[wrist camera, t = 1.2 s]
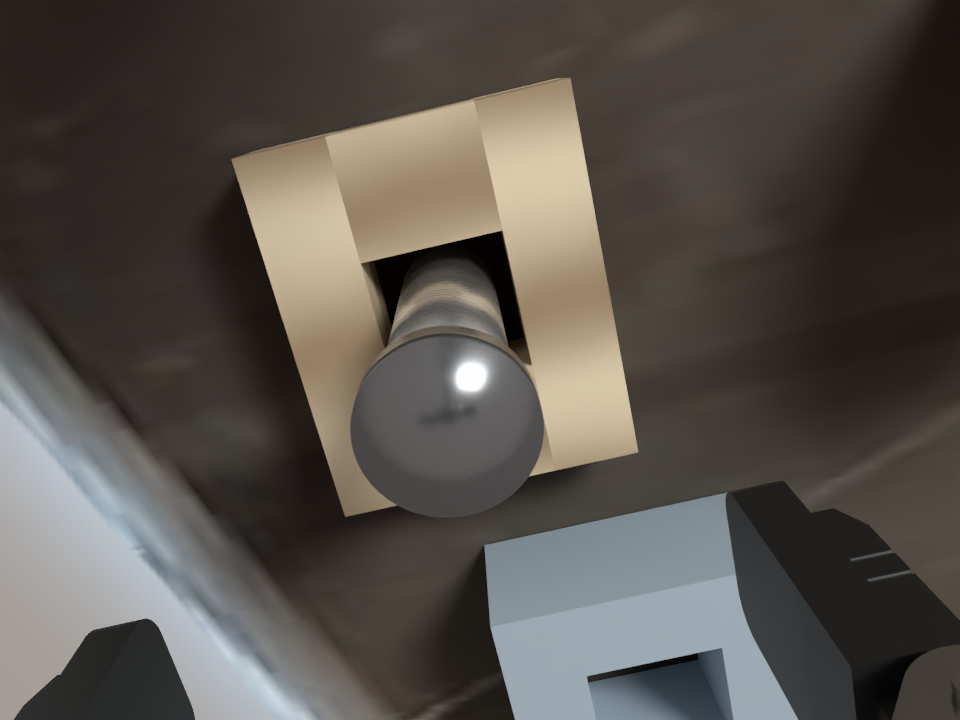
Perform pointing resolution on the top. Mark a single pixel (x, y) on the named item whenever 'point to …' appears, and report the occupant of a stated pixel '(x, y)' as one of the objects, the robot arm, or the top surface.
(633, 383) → the top surface
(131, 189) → the top surface
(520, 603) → the socket
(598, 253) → the mount
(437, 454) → the pin
